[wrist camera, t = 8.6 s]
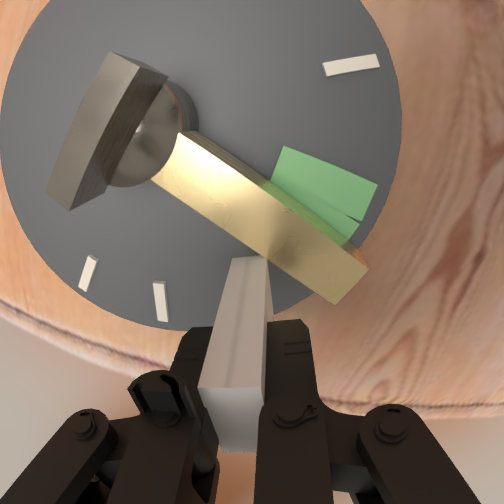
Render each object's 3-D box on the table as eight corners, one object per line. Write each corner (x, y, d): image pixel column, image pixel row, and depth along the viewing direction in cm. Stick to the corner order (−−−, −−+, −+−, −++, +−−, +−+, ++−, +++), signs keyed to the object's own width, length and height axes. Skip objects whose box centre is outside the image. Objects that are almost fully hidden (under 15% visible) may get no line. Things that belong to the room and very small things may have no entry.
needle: (91, 149, 13) (17, 169, 8) (142, 56, 11) (75, 34, 6) (306, 296, 15) (314, 371, 10) (375, 218, 13) (419, 271, 9)
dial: (25, -9, 10) (11, -13, 9) (390, -48, 9) (398, -60, 7) (37, 294, 19) (26, 304, 18) (355, 332, 18) (360, 348, 16)
